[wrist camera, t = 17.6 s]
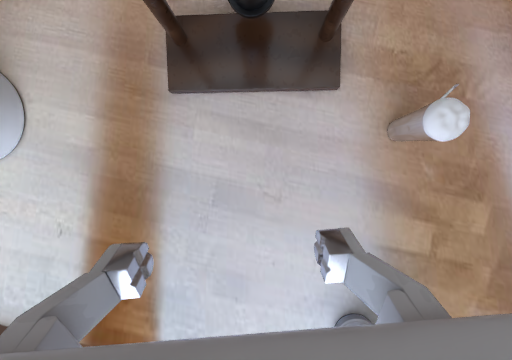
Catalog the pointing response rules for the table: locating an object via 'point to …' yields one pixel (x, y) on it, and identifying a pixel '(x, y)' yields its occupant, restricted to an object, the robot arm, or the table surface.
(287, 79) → the rack
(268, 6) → the dark cylindrical piece
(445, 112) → the milkshake
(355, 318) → the travel mug
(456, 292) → the table surface
